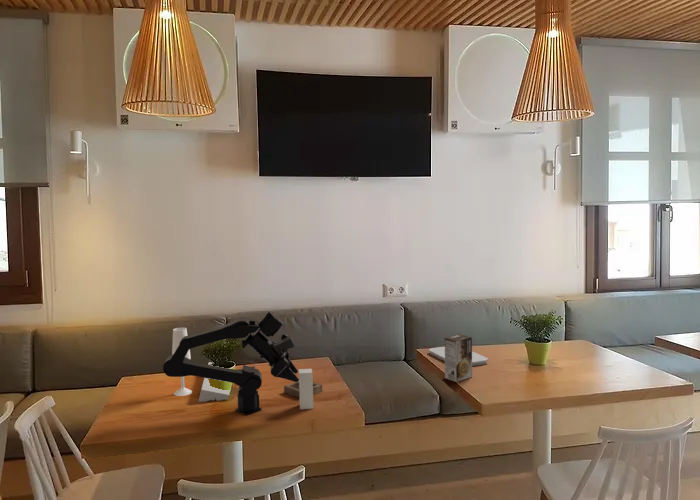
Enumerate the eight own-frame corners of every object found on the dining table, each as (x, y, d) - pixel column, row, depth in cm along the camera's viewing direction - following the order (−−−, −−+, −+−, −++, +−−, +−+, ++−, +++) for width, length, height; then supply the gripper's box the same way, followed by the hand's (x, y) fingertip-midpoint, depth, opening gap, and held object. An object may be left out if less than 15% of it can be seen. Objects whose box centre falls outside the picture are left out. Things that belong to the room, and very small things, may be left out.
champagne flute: (172, 396, 205) (169, 331, 203) (174, 390, 212) (171, 327, 210) (191, 395, 207) (188, 330, 204) (193, 389, 213) (190, 326, 211)
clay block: (300, 409, 190) (299, 373, 189) (299, 404, 195) (298, 369, 194) (313, 408, 191) (312, 372, 190) (312, 403, 195) (311, 368, 194)
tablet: (457, 369, 231) (457, 364, 231) (426, 353, 255) (426, 348, 255) (490, 364, 237) (490, 359, 237) (457, 349, 261) (457, 344, 261)
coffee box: (460, 373, 225) (460, 333, 223) (472, 377, 220) (472, 336, 218) (444, 378, 220) (443, 337, 218) (456, 382, 214) (456, 340, 213)
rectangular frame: (302, 398, 200) (302, 392, 200) (284, 392, 207) (283, 386, 207) (322, 391, 208) (322, 384, 207) (304, 385, 214) (303, 379, 214)
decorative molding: (230, 377, 235) (206, 373, 233) (232, 366, 235) (208, 362, 233) (226, 407, 201) (198, 402, 199) (229, 394, 201) (201, 389, 199)
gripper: (280, 335, 180) (315, 367, 183) (280, 322, 199) (312, 351, 201) (255, 361, 180) (291, 392, 182) (258, 345, 198) (290, 374, 201)
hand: (297, 376), depth 192 cm, fingers open, 9 cm apart
